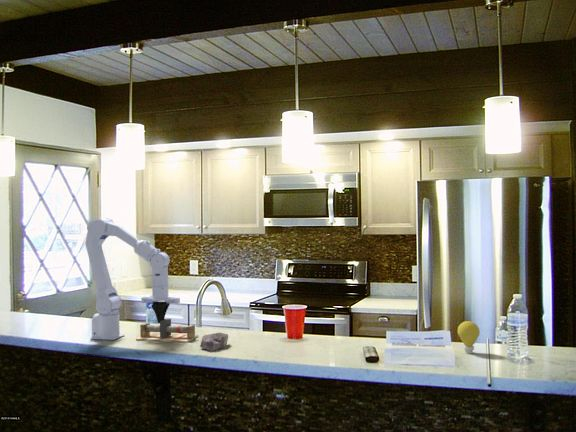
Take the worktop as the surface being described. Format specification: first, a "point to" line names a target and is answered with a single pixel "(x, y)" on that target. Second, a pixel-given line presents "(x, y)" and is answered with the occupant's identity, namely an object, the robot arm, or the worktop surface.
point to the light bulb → (468, 335)
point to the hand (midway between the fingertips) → (160, 322)
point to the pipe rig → (148, 328)
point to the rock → (214, 341)
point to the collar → (164, 327)
